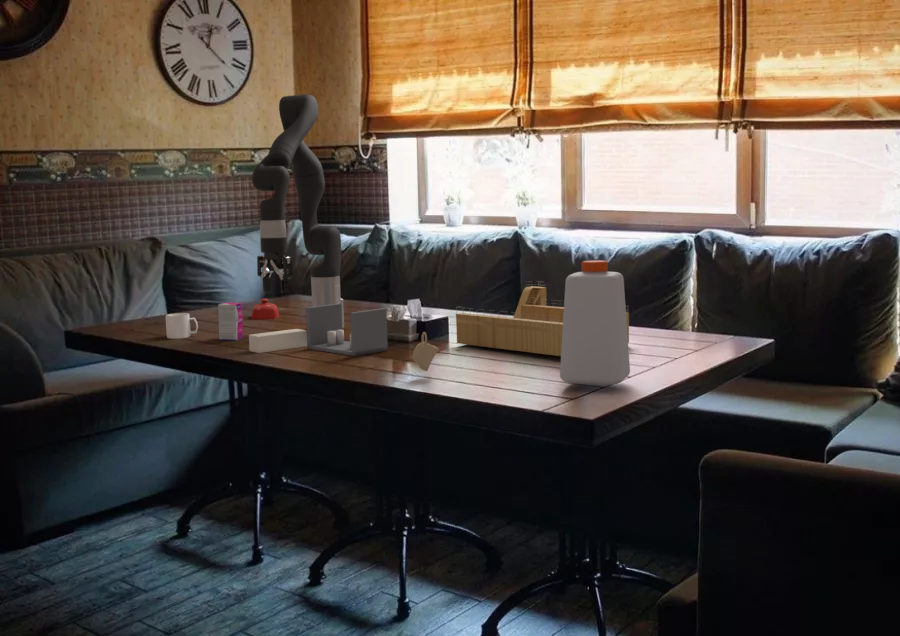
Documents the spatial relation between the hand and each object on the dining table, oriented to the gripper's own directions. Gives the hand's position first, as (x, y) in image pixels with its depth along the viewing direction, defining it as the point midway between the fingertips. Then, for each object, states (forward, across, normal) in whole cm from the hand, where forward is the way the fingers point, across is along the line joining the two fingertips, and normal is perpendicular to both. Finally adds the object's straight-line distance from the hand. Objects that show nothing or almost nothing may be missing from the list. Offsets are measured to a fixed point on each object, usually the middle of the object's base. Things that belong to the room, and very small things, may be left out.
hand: (275, 291), depth 294 cm
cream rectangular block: (+17, 0, 0) cm, 17 cm away
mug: (+17, +42, +6) cm, 46 cm away
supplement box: (+17, +26, -1) cm, 31 cm away
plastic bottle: (+17, -100, -20) cm, 103 cm away
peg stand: (+17, -18, -11) cm, 27 cm away
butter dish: (+17, +52, -32) cm, 64 cm away
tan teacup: (+17, -60, -2) cm, 62 cm away
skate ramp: (+17, -58, -54) cm, 81 cm away
